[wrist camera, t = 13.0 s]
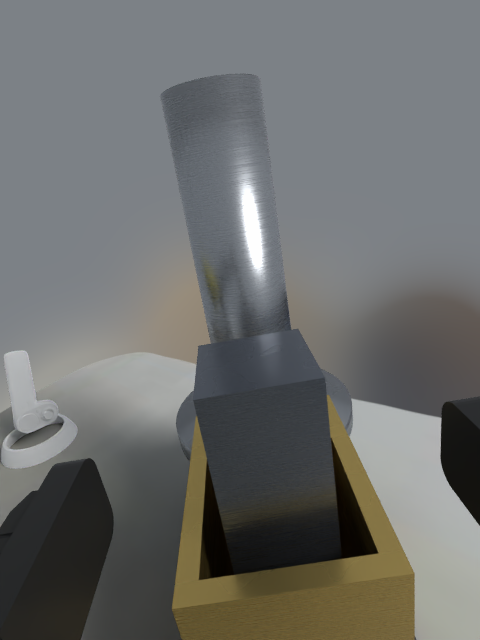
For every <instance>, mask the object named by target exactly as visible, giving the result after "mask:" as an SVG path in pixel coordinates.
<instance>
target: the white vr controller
mask: <svg viewBox="0 0 480 640" xmlns="http://www.w3.org/2000/svg"><path fill="white" fill-rule="evenodd" d="M4 364H5V370H6V376H7V382H8V388H9V394H10V400H11V406H12V414H13V424H14V427H15V429H14V430H13V431H11V432H10V433H9V434H8V435H7V436H6V438H5V439H4V441H3V444H2V448H1V462H2V464H3V465H4V466H5V467H7V468H11V469H20V468H26V467H30V466H34V465H37V464H40V463H42V462H44V461H47V460H49V459H51V458H52V457H54V456H56V455H57V454H59V453H60V452H62V451H63V450H64V449H66V448H67V447H68V446H69V445H70V444H71V443H72V442H73V440H74V439H75V437H76V435H77V432H78V428H77V426H76V425H75V423H74V422H72V421H71V420H70V419H69V418H68V417H66V416H64V415H62V414H58V412H59V410H58V406H57V404H56V403H55V402H54V401H52V400H40V401H37V399H36V391H35V388H34V383H33V377H32V372H31V366H30V361H29V357H28V353H27V352H26V351H24V350H20V351H13V352H9V353H6V354H5V355H4ZM57 423H64V424H63V426H62V428H61V429H60V430H59V431H58V432H57V433H56V434H55V435H54V436H52V437H51V438H49V439H48V440H46V441H44V442H42V443H40V444H38V445H35V446H32V447H29V448H25V449H19V450H14V449H10V447H11V446H12V445H13V444H14V443H15V442H16V441H17V440H19V439H20V438H21V437H23V436H24V435H26V434H28V433H31V432H34V431H36V430H38V429H40V428H42V427H44V426H47V425H51V424H57Z"/></svg>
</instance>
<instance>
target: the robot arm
mask: <svg viewBox="0 0 480 640" xmlns="http://www.w3.org/2000/svg"><path fill="white" fill-rule="evenodd" d="M441 464H442V468H443V471H444V474H445V477H446V479H447V481H448V483H449V485H450V486H451V488H452V489H453V490H454V492H455V493H456V494H457V496H458V497H459V498H460V500H461V501H462V502H463V504H464V505H465V507H466V508H467V509H468V511H469V512H470V513H471V515H472V516H473V517H474V519H475V520H476V521H477V523H478V524H479V525H480V397H474V398H468V399H461V400H455V401H450V402H446V403H445V404H444V405H443V408H442V422H441ZM112 534H113V512H112V508H111V505H110V502H109V499H108V497H107V494H106V491H105V488H104V486H103V483H102V480H101V477H100V475H99V472H98V469H97V466H96V464H95V462H94V461H93V460H92V459H90V458H88V459H82V460H76V461H69V462H63V463H57V464H55V465H54V466H53V467H52V468H51V470H50V471H49V473H48V475H47V476H46V478H45V480H44V481H43V483H42V485H41V486H40V488H39V490H37V491H32V492H31V493H30V494H29V495H27V496H26V497H25V498H24V499H23V500H22V501H21V502H20V503H19V504H18V505H17V506H16V507H15V508H14V509H13V510H12V511H11V512H10V513H9V515H8V516H7V518H6V519H5V521H4V523H3V524H2V526H1V527H0V640H80V639H81V636H82V632H83V629H84V626H85V623H86V620H87V616H88V613H89V610H90V607H91V604H92V600H93V597H94V594H95V591H96V587H97V584H98V581H99V578H100V575H101V571H102V568H103V565H104V562H105V558H106V555H107V552H108V549H109V546H110V542H111V539H112Z"/></svg>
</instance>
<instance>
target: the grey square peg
mask: <svg viewBox="0 0 480 640" xmlns="http://www.w3.org/2000/svg"><path fill="white" fill-rule="evenodd" d="M193 402H194V406H195V410H196V415H197V419H198V423H199V427H200V432H201V436H202V440H203V444H204V448H205V453H206V457H207V461H208V465H209V470H210V474H211V478H212V482H213V487H214V491H215V495H216V499H217V503H218V508H219V512H220V516H221V520H222V525H223V529H224V533H225V537H226V542H227V546H228V550H229V554H230V559H231V563H232V567H233V571H234V575H238V574H244V573H251V572H258V571H264V570H271V569H278V568H285V567H291V566H298V565H305V564H312V563H318V562H325V561H332V560H338V559H342V553H341V542H340V532H339V521H338V510H337V500H336V489H335V478H334V468H333V457H332V446H331V435H330V425H329V414H328V403H327V393H326V382H325V376H324V375H323V373H322V371H321V369H320V367H319V366H318V364H317V362H316V360H315V359H314V357H313V355H312V353H311V351H310V350H309V348H308V346H307V344H306V342H305V341H304V339H303V337H302V335H301V333H300V331H299V330H298V329H293V330H288V331H282V332H276V333H270V334H264V335H259V336H253V337H247V338H241V339H235V340H230V341H224V342H218V343H212V344H207V345H201V346H198V356H197V366H196V376H195V386H194V396H193Z"/></svg>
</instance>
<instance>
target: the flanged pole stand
mask: <svg viewBox="0 0 480 640" xmlns="http://www.w3.org/2000/svg"><path fill="white" fill-rule="evenodd" d="M160 98H161V102H162V107H163V112H164V117H165V122H166V127H167V131H168V137H169V141H170V146H171V151H172V156H173V161H174V165H175V171H176V176H177V180H178V185H179V190H180V195H181V200H182V205H183V210H184V215H185V219H186V224H187V229H188V234H189V239H190V243H191V249H192V254H193V259H194V263H195V268H196V273H197V278H198V283H199V287H200V292H201V298H202V302H203V307H204V312H205V317H206V322H207V327H208V332H209V337H210V341H211V344H212V343H218V342H224V341H230V340H235V339H241V338H247V337H253V336H259V335H264V334H270V333H276V332H282V331H288V330H291V325H290V317H289V309H288V302H287V301H288V300H287V292H286V285H285V276H284V268H283V260H282V251H281V243H280V235H279V228H278V219H277V211H276V202H275V195H274V186H273V178H272V170H271V162H270V154H269V145H268V137H267V130H266V121H265V113H264V105H263V97H262V89H261V80H260V78H259V77H258V76H256V75H250V74H226V75H218V76H211V77H205V78H200V79H196V80H192V81H189V82H185V83H182V84H179V85H176V86H173V87H171V88H169V89H167V90H166V91H164V92H163V93H162V94H161V96H160ZM321 371H322V373H323V375H324V376H325V382H326V393H327V403H328V414H329V425H330V435H331V446H332V457H333V468H334V478H335V489H336V500H337V510H338V521H339V532H340V542H341V553H342V559H338V560H332V561H325V562H318V563H312V564H305V565H298V566H291V567H285V568H278V569H271V570H264V571H258V572H251V573H244V574H238V575H234V571H233V567H232V563H231V559H230V554H229V550H228V546H227V542H226V537H225V533H224V529H223V525H222V520H221V516H220V512H219V508H218V503H217V499H216V495H215V491H214V487H213V482H212V478H211V474H210V470H209V465H208V461H207V457H206V453H205V448H204V444H203V440H202V436H201V432H200V427H199V423H198V419H197V415H196V410H195V406H194V402H193V396H194V391H192V392H191V393H190V394H189V396H188V397H187V398H186V399H185V400H184V402H183V403H182V405H181V407H180V409H179V411H178V414H177V419H176V426H177V432H178V436H179V439H180V443H181V447H182V449H183V452H184V454H185V455H186V457H187V458H188V460H189V461H190V467H189V475H188V483H187V491H186V499H185V507H184V515H183V523H182V531H181V540H180V548H179V556H178V564H177V572H176V580H175V588H174V596H173V604H172V611H173V614H174V617H175V620H176V623H177V626H178V629H179V632H180V635H181V638H182V640H416V638H415V635H414V572H413V569H412V567H411V565H410V563H409V561H408V559H407V557H406V555H405V553H404V551H403V549H402V546H401V544H400V542H399V540H398V538H397V536H396V534H395V532H394V530H393V528H392V526H391V523H390V521H389V519H388V517H387V515H386V513H385V511H384V509H383V507H382V505H381V503H380V500H379V498H378V496H377V494H376V492H375V490H374V488H373V486H372V484H371V482H370V480H369V478H368V475H367V473H366V471H365V469H364V467H363V465H362V463H361V461H360V459H359V457H358V455H357V452H356V450H355V448H354V446H353V444H352V442H351V440H350V438H349V436H350V434H351V430H352V426H353V415H352V401H351V396H350V394H349V391H348V389H347V388H346V386H345V385H344V384H343V383H342V382H341V381H340V380H339V379H338V378H337V377H335V376H334V375H332V374H330V373H329V372H327V371H325V370H322V369H321Z"/></svg>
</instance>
